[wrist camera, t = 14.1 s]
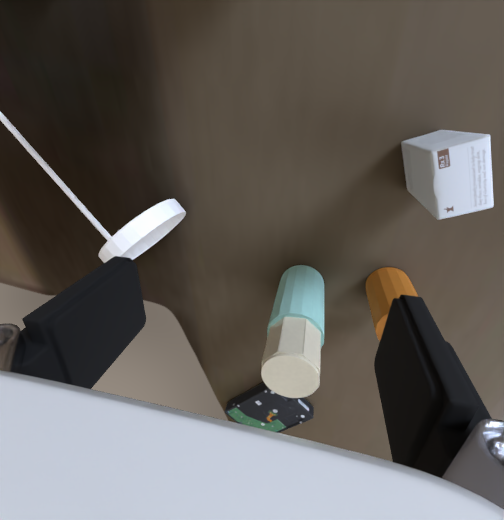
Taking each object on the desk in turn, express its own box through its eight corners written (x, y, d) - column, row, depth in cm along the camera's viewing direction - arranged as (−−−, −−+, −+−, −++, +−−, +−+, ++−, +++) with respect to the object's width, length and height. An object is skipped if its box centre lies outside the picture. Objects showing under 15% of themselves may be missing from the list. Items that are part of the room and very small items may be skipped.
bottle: (271, 282, 45) (248, 356, 31) (302, 256, 42) (291, 326, 28) (301, 309, 46) (291, 392, 32) (333, 286, 43) (337, 367, 29)
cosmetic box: (446, 180, 34) (500, 210, 23) (404, 191, 36) (437, 224, 25) (440, 126, 32) (498, 131, 21) (396, 140, 33) (429, 152, 23)
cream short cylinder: (260, 333, 35) (249, 372, 30) (295, 308, 32) (289, 346, 27) (294, 363, 36) (289, 405, 31) (331, 341, 33) (332, 383, 28)
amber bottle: (356, 283, 42) (369, 348, 31) (391, 259, 40) (419, 320, 28) (382, 308, 43) (405, 381, 31) (418, 286, 40) (457, 357, 29)
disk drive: (277, 371, 54) (227, 401, 61) (275, 383, 51) (223, 413, 58) (314, 405, 56) (261, 430, 62) (314, 418, 53) (259, 443, 60)
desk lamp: (227, 157, 28) (-143, -317, 22) (91, 282, 35) (-218, -54, 29) (249, 160, 40) (10, -150, 34) (144, 254, 47) (-71, 9, 41)
